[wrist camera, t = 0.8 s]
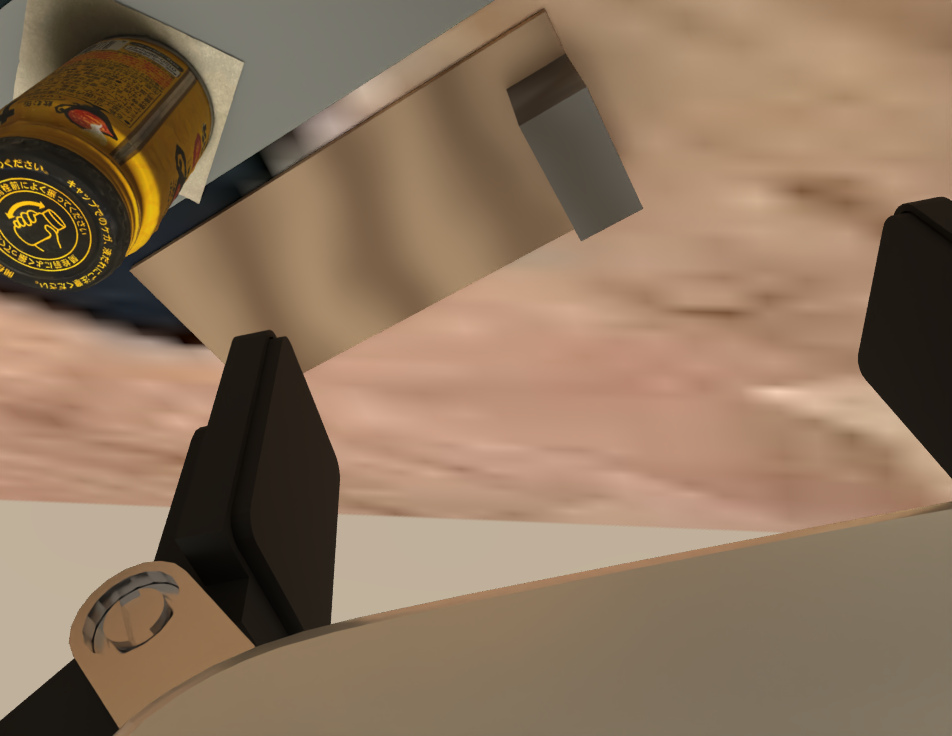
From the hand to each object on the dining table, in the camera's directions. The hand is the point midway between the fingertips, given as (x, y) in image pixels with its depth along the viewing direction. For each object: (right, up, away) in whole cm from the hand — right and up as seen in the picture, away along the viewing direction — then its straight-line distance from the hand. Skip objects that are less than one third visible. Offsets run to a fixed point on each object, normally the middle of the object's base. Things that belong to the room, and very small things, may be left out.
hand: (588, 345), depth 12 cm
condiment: (-17, +12, +21) cm, 30 cm away
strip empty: (-7, +7, +26) cm, 28 cm away
